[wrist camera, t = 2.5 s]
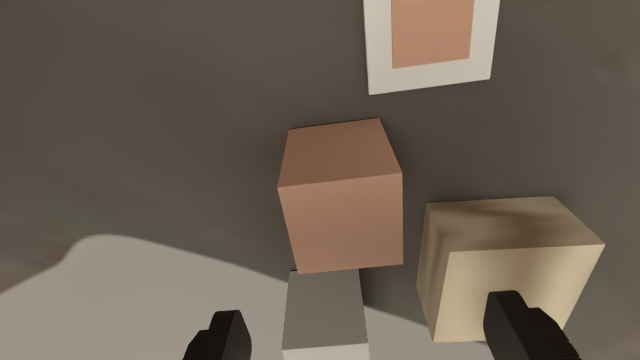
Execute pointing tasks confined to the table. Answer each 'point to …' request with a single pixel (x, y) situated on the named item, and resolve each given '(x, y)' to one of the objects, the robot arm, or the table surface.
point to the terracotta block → (342, 197)
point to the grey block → (325, 317)
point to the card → (428, 42)
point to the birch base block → (500, 261)
